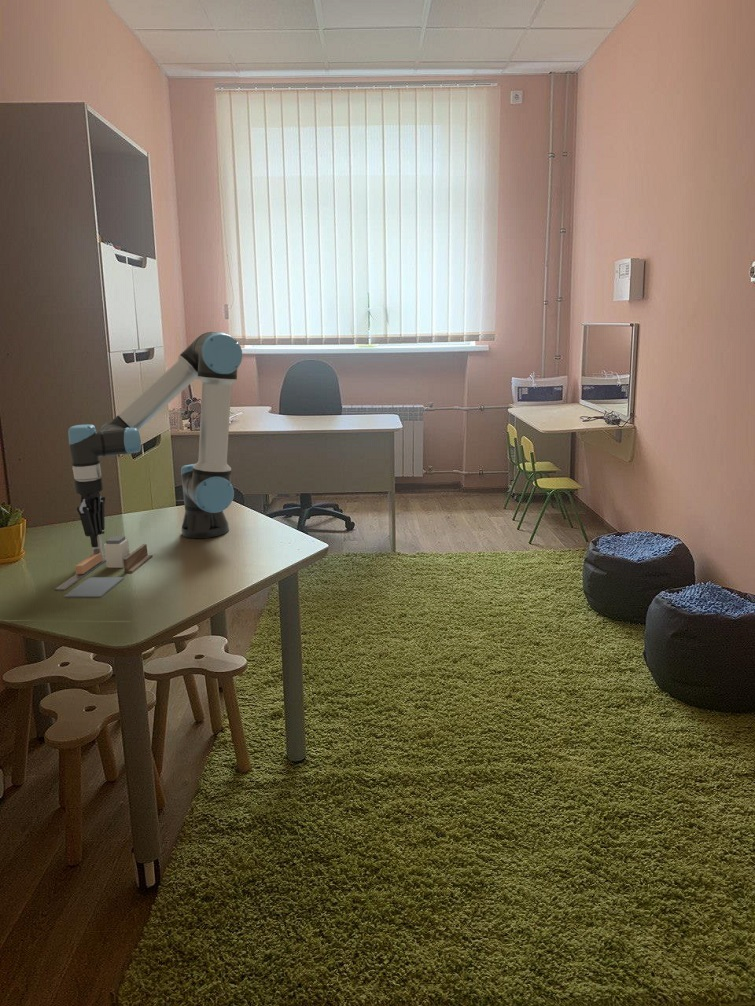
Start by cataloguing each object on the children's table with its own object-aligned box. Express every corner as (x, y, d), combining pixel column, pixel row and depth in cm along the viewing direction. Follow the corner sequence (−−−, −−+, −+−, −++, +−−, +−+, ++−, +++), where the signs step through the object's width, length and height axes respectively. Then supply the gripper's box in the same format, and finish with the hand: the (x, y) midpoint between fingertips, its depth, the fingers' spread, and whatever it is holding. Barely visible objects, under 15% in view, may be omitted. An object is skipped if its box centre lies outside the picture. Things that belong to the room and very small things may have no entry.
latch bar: (102, 560, 235) (101, 548, 235) (83, 573, 224) (81, 561, 223) (96, 560, 236) (94, 548, 235) (76, 573, 224) (74, 561, 223)
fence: (152, 556, 238) (150, 544, 237) (132, 572, 225) (131, 559, 224) (144, 556, 239) (143, 544, 238) (124, 572, 225) (123, 559, 224)
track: (111, 556, 240) (111, 555, 240) (64, 590, 213) (64, 588, 213) (102, 557, 240) (102, 555, 240) (55, 590, 214) (54, 588, 213)
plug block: (130, 561, 235) (127, 536, 233) (123, 567, 230) (119, 541, 228) (114, 562, 235) (111, 536, 233) (106, 567, 231) (103, 541, 229)
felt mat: (123, 578, 220) (123, 577, 220) (100, 597, 207) (100, 595, 207) (89, 578, 221) (89, 577, 221) (64, 597, 208) (64, 595, 208)
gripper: (86, 473, 237) (96, 549, 243) (64, 483, 224) (75, 563, 230) (110, 473, 236) (120, 549, 242) (89, 483, 223) (100, 563, 229)
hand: (98, 556), depth 236 cm, fingers closed
